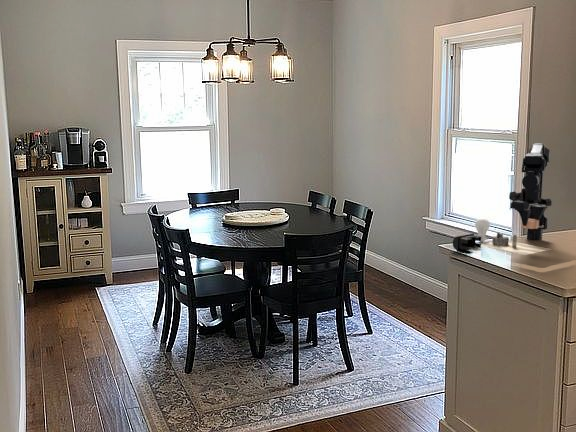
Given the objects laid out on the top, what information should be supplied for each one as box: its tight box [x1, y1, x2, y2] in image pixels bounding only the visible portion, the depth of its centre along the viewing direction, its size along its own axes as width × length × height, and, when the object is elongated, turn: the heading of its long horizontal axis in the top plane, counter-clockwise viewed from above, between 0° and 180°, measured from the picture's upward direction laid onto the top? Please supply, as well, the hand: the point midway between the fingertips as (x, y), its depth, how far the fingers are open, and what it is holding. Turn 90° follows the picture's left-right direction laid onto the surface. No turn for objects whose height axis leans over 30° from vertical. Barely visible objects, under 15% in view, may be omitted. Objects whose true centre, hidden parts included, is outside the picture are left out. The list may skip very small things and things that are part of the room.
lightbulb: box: [474, 217, 491, 243], centre depth 281 cm, size 6×6×11 cm
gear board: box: [480, 232, 552, 256], centre depth 265 cm, size 17×24×7 cm
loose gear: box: [520, 219, 539, 229], centre depth 257 cm, size 6×6×3 cm
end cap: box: [452, 232, 482, 255], centre depth 265 cm, size 10×7×7 cm
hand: (530, 224), depth 257 cm, fingers closed on loose gear, 6 cm apart
